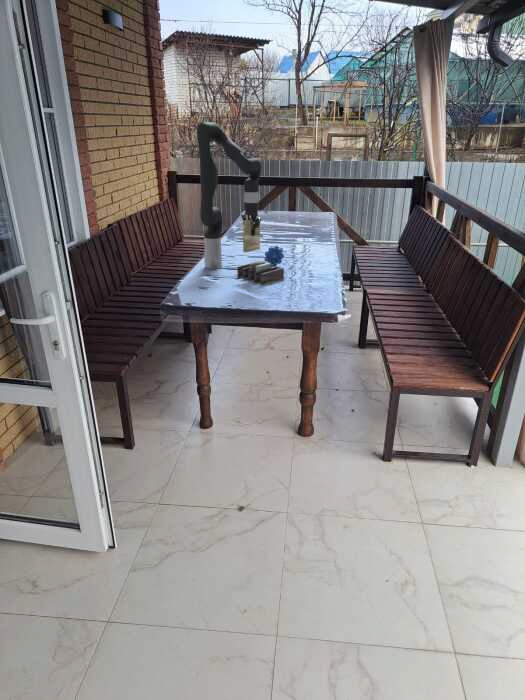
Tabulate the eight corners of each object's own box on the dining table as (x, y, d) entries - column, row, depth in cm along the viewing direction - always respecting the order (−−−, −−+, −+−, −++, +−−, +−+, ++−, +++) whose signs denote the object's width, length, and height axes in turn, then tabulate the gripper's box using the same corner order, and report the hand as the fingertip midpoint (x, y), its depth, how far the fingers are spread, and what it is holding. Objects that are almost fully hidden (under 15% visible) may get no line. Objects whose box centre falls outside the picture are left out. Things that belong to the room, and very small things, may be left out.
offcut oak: (250, 277, 258) (249, 264, 255) (262, 273, 263) (262, 260, 260) (252, 277, 257) (252, 264, 254) (265, 274, 262) (265, 261, 259)
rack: (234, 278, 261) (233, 266, 258) (259, 271, 272) (258, 260, 269) (262, 287, 246) (262, 275, 244) (287, 280, 258) (287, 268, 255)
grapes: (285, 265, 283) (286, 244, 278) (283, 268, 278) (283, 247, 272) (266, 263, 286) (266, 243, 281) (263, 266, 280) (263, 246, 275)
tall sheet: (243, 251, 255) (242, 220, 248) (257, 248, 261) (257, 218, 254) (245, 252, 254) (245, 221, 247) (259, 249, 260) (259, 218, 253)
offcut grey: (255, 278, 255) (255, 265, 252) (268, 275, 261) (268, 262, 257) (258, 279, 254) (258, 266, 251) (270, 276, 259) (270, 263, 256)
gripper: (236, 200, 249) (237, 234, 256) (254, 203, 240) (255, 238, 247) (247, 198, 253) (248, 232, 261) (266, 201, 244) (265, 236, 252)
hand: (251, 235), depth 254 cm, fingers closed on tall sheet, 2 cm apart
